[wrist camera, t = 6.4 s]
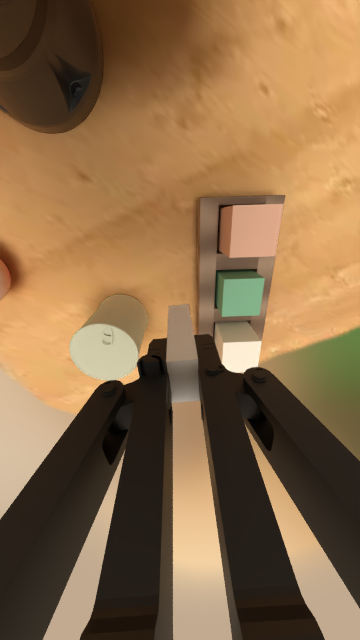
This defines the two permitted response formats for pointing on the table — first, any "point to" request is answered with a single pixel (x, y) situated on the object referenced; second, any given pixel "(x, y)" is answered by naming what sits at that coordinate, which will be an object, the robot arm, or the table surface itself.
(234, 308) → the green block
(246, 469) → the robot arm
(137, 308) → the can
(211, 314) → the walnut board
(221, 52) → the table surface
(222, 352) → the cream block
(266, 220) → the terracotta block
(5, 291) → the decorative fruit
